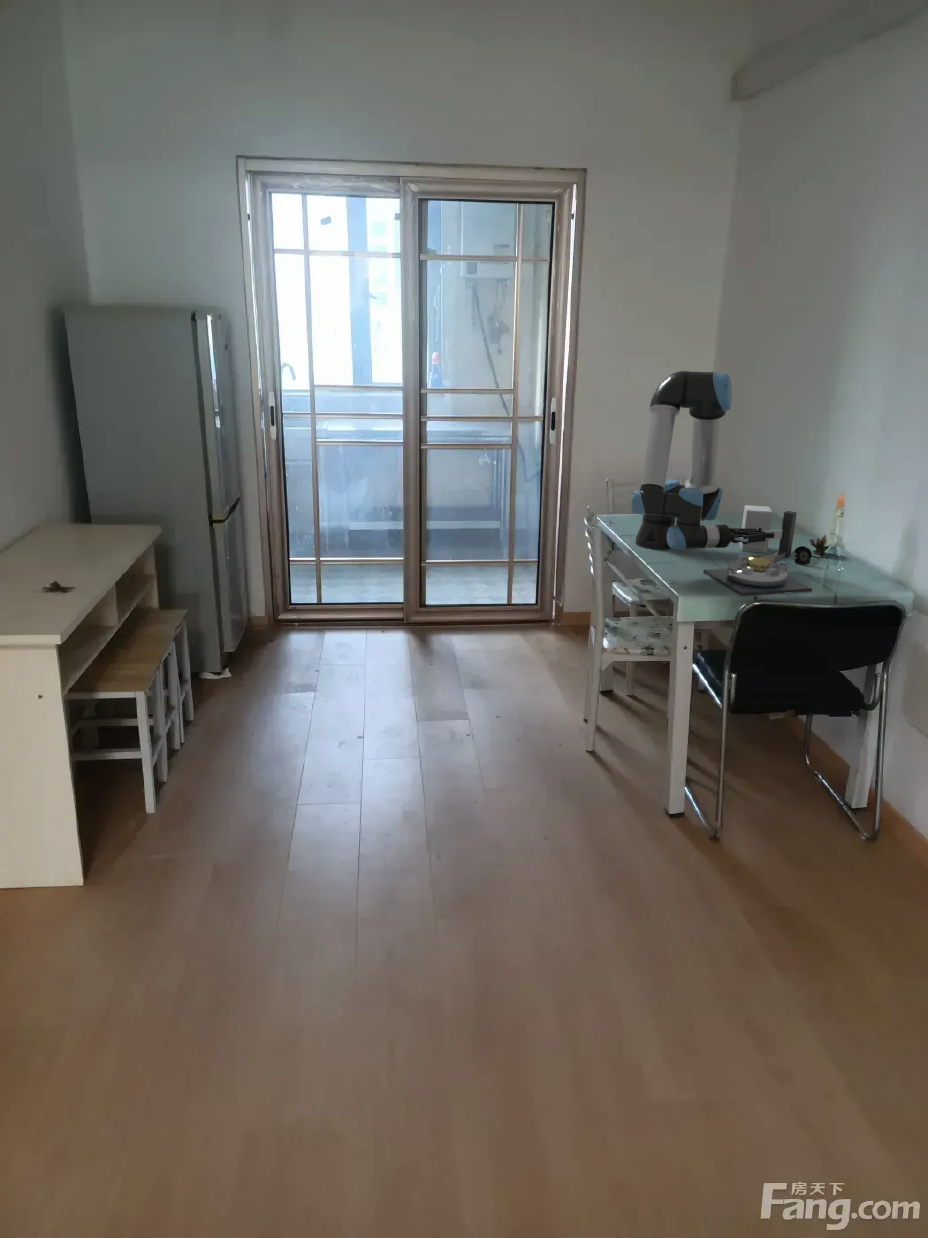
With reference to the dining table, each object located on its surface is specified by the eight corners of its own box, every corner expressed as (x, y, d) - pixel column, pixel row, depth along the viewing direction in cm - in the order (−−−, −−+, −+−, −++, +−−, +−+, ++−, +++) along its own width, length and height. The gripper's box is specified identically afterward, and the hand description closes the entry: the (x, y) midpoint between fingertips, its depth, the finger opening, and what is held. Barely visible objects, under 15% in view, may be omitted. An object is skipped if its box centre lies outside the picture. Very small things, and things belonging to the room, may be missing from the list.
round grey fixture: (771, 590, 270) (779, 532, 263) (716, 577, 281) (723, 522, 275) (811, 569, 291) (819, 516, 285) (759, 558, 302) (766, 507, 296)
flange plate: (703, 572, 290) (706, 549, 288) (769, 569, 296) (772, 545, 293) (740, 595, 268) (744, 570, 266) (811, 591, 274) (815, 566, 271)
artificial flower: (786, 566, 304) (784, 537, 304) (818, 562, 319) (817, 534, 318) (811, 565, 297) (809, 535, 297) (842, 561, 312) (841, 532, 311)
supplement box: (767, 553, 314) (773, 511, 309) (741, 551, 316) (746, 510, 311) (764, 546, 323) (770, 506, 317) (739, 544, 324) (744, 504, 319)
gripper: (704, 542, 294) (769, 540, 299) (722, 552, 282) (789, 550, 287) (706, 520, 291) (772, 518, 296) (725, 529, 279) (793, 527, 284)
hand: (780, 534), depth 291 cm, fingers closed
